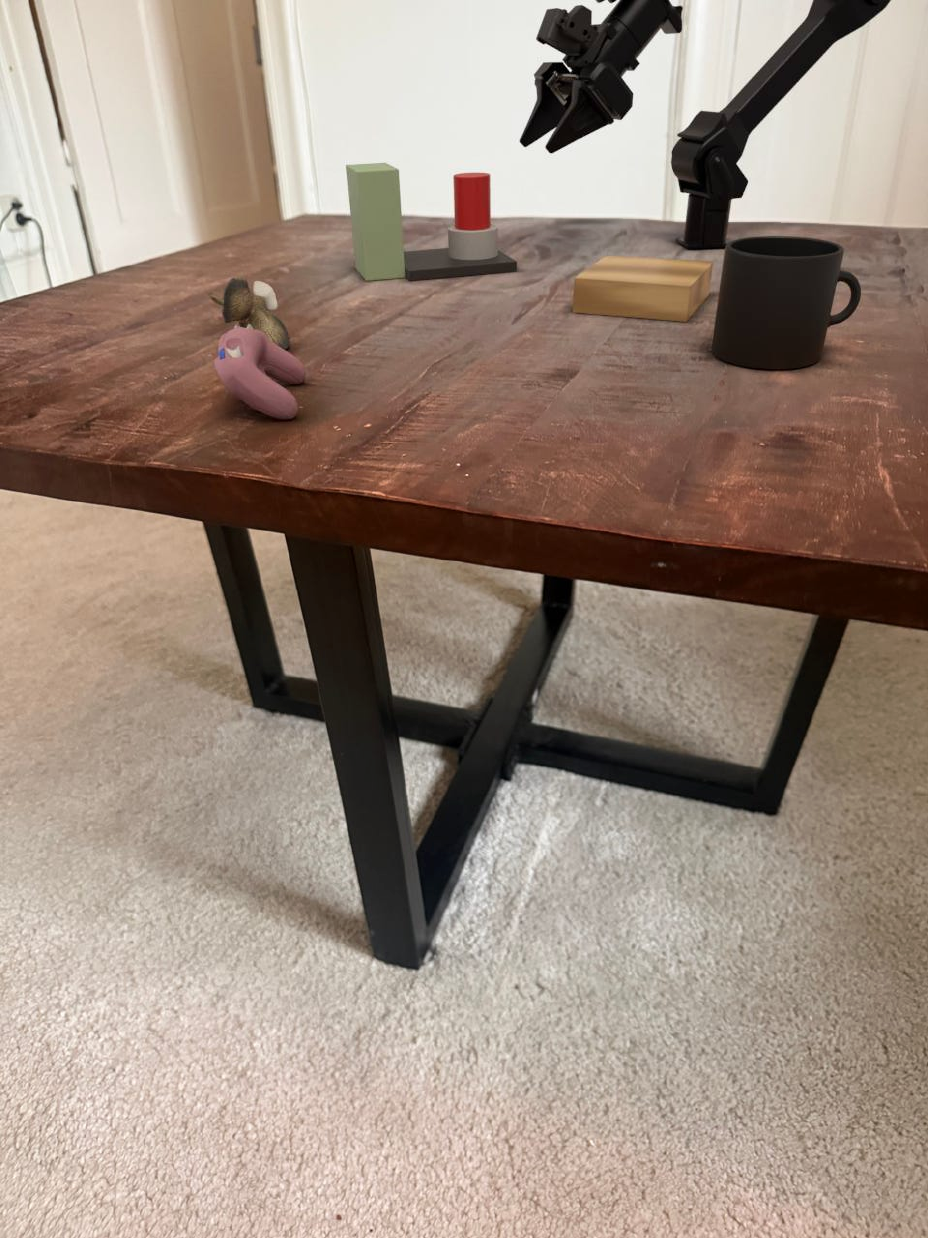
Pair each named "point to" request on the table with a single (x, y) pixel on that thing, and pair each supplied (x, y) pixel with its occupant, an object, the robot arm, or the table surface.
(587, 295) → the block
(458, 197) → the cylinder
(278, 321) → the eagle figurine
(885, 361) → the table surface
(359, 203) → the coffee maker
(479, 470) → the table surface
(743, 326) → the mug
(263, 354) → the video game controller
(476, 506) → the table surface
